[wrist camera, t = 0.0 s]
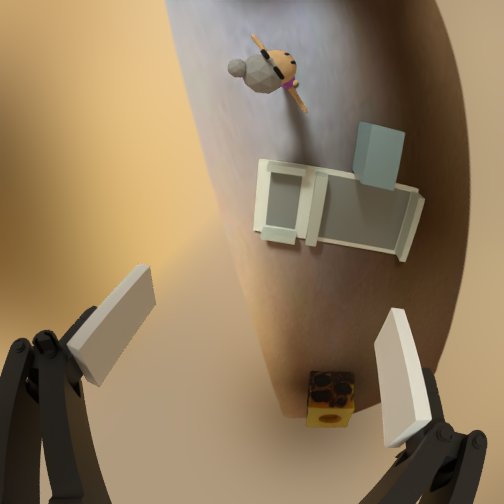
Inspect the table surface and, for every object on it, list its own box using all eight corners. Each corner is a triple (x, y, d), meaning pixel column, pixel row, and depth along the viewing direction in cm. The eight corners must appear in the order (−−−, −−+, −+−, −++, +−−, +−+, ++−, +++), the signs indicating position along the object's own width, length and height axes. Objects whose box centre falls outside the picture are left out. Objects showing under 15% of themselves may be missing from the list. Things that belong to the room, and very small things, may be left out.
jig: (259, 158, 38) (255, 163, 35) (417, 188, 34) (426, 195, 31) (254, 228, 43) (249, 239, 40) (398, 253, 40) (404, 265, 37)
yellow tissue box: (310, 370, 57) (306, 407, 48) (354, 370, 55) (356, 408, 46) (307, 393, 62) (303, 427, 53) (346, 394, 60) (346, 428, 51)
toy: (319, 106, 32) (324, 103, 20) (283, 125, 35) (267, 133, 22) (277, 45, 29) (257, 9, 16) (243, 65, 31) (204, 42, 18)
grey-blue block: (359, 121, 32) (371, 123, 25) (386, 127, 32) (405, 132, 25) (352, 169, 36) (361, 184, 29) (378, 175, 35) (393, 190, 28)
